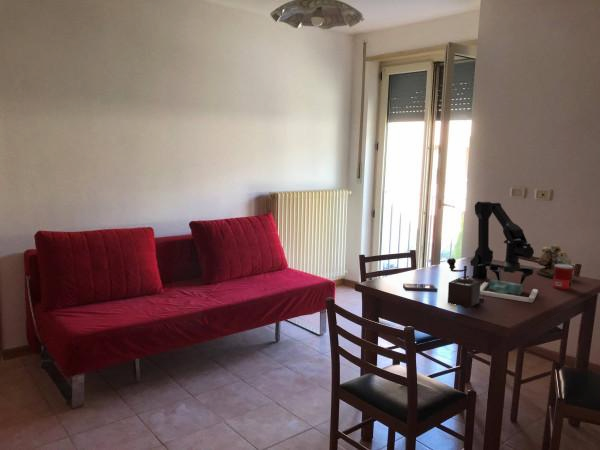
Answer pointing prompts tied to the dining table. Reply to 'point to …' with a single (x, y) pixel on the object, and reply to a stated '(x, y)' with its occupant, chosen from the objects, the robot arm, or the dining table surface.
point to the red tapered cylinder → (562, 276)
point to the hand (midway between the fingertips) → (509, 286)
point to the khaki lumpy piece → (551, 260)
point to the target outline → (506, 296)
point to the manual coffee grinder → (462, 288)
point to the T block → (505, 287)
